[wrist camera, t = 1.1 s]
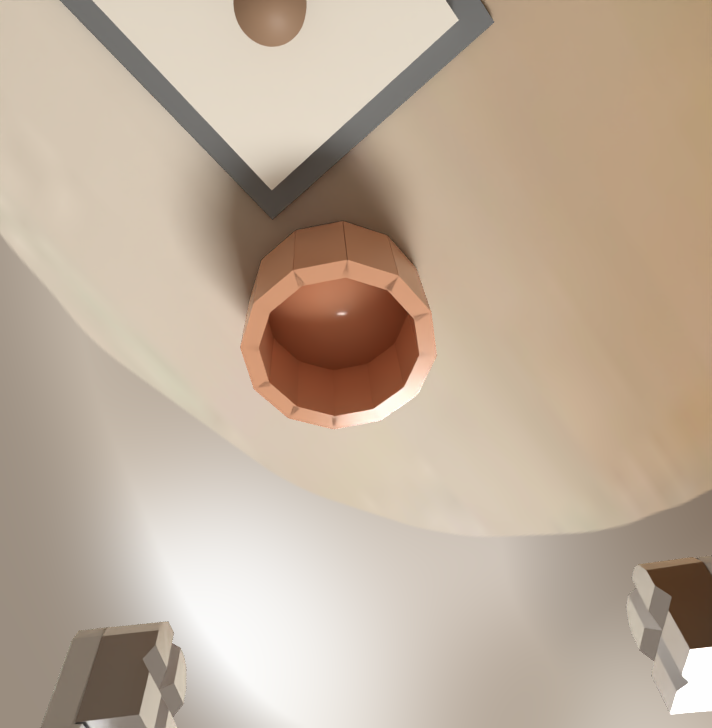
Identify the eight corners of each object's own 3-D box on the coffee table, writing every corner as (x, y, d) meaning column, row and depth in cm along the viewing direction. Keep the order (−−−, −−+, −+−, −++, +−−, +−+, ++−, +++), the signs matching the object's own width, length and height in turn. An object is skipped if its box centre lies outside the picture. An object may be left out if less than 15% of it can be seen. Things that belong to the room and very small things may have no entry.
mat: (279, -315, 26) (278, -319, 25) (492, 21, 33) (494, 22, 32) (43, -20, 31) (40, -20, 30) (272, 217, 38) (272, 219, 37)
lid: (278, -248, 27) (272, -283, 23) (454, 18, 32) (472, 25, 29) (85, -16, 31) (54, -14, 27) (272, 184, 36) (268, 208, 33)
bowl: (345, 186, 37) (350, 221, 32) (452, 309, 42) (471, 356, 37) (216, 298, 40) (202, 345, 35) (329, 400, 45) (331, 454, 40)
